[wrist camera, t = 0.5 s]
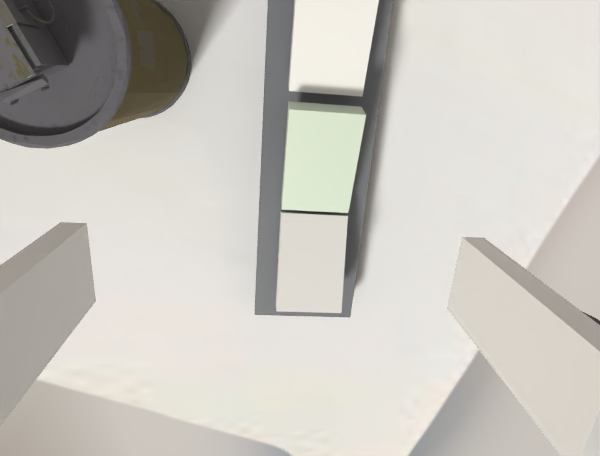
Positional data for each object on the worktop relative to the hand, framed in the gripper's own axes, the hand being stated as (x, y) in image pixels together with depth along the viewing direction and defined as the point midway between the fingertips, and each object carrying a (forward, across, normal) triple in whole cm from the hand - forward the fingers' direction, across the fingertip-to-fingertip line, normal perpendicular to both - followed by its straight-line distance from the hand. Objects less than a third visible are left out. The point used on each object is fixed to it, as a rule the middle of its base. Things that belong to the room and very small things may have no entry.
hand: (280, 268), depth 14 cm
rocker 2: (+23, +4, -10) cm, 26 cm away
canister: (+28, -13, +7) cm, 32 cm away
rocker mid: (+23, +4, 0) cm, 24 cm away
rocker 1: (+23, +4, +10) cm, 26 cm away
